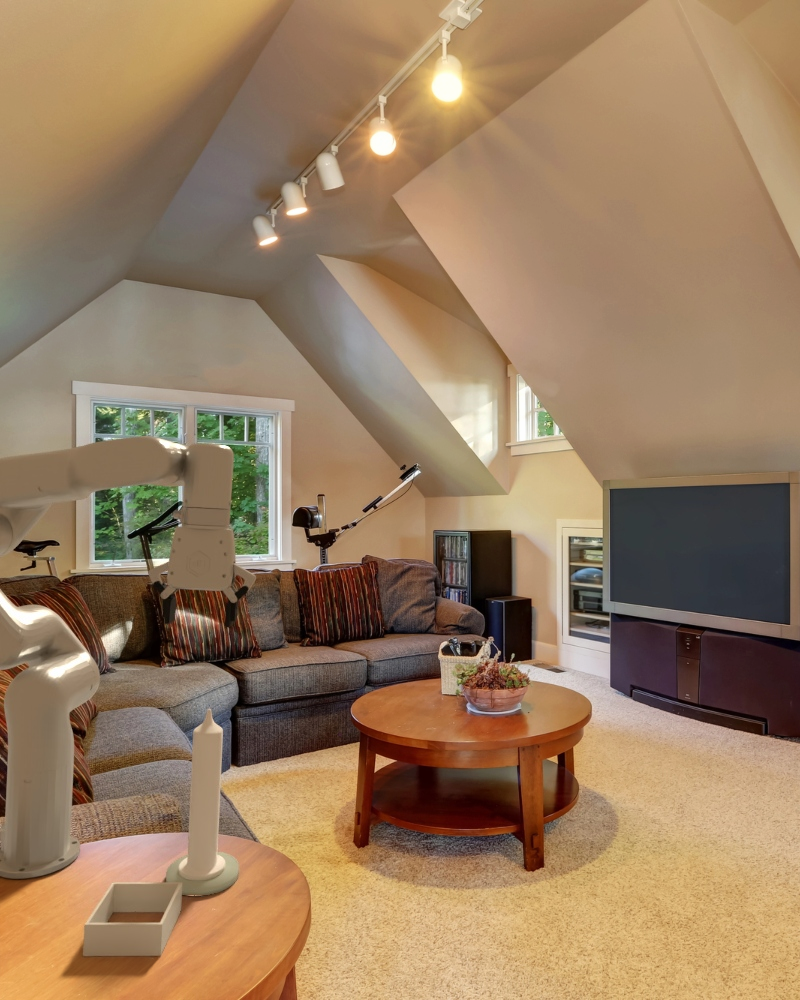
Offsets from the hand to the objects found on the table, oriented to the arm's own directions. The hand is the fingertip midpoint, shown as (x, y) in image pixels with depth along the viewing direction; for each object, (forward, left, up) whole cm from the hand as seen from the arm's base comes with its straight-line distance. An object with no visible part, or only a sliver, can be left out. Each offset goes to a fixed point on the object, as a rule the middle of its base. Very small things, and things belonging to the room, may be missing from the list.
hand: (199, 624), depth 109 cm
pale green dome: (+4, -2, -39) cm, 39 cm away
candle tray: (+5, -17, -39) cm, 43 cm away
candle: (+4, -2, -38) cm, 38 cm away
